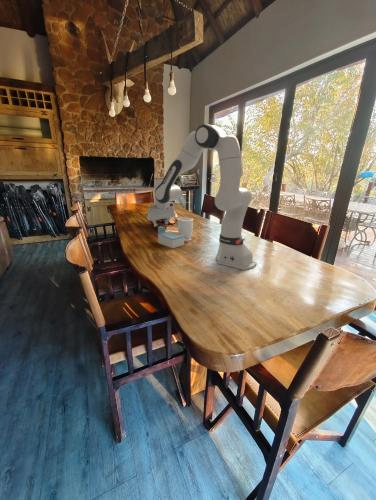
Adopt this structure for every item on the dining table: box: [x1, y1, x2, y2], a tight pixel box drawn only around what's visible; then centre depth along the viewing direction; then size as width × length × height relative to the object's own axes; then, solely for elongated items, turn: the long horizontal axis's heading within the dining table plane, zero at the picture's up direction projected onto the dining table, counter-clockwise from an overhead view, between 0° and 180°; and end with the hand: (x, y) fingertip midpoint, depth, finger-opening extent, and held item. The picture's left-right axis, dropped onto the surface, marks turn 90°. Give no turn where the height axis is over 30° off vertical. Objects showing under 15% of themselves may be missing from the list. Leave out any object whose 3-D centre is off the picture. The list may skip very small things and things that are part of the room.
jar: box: [177, 216, 194, 242], centre depth 162 cm, size 11×10×15 cm
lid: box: [157, 225, 185, 240], centre depth 153 cm, size 19×11×4 cm, turn 47°
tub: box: [157, 235, 185, 249], centre depth 153 cm, size 14×10×6 cm
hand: (161, 225), depth 156 cm, fingers open, 8 cm apart
